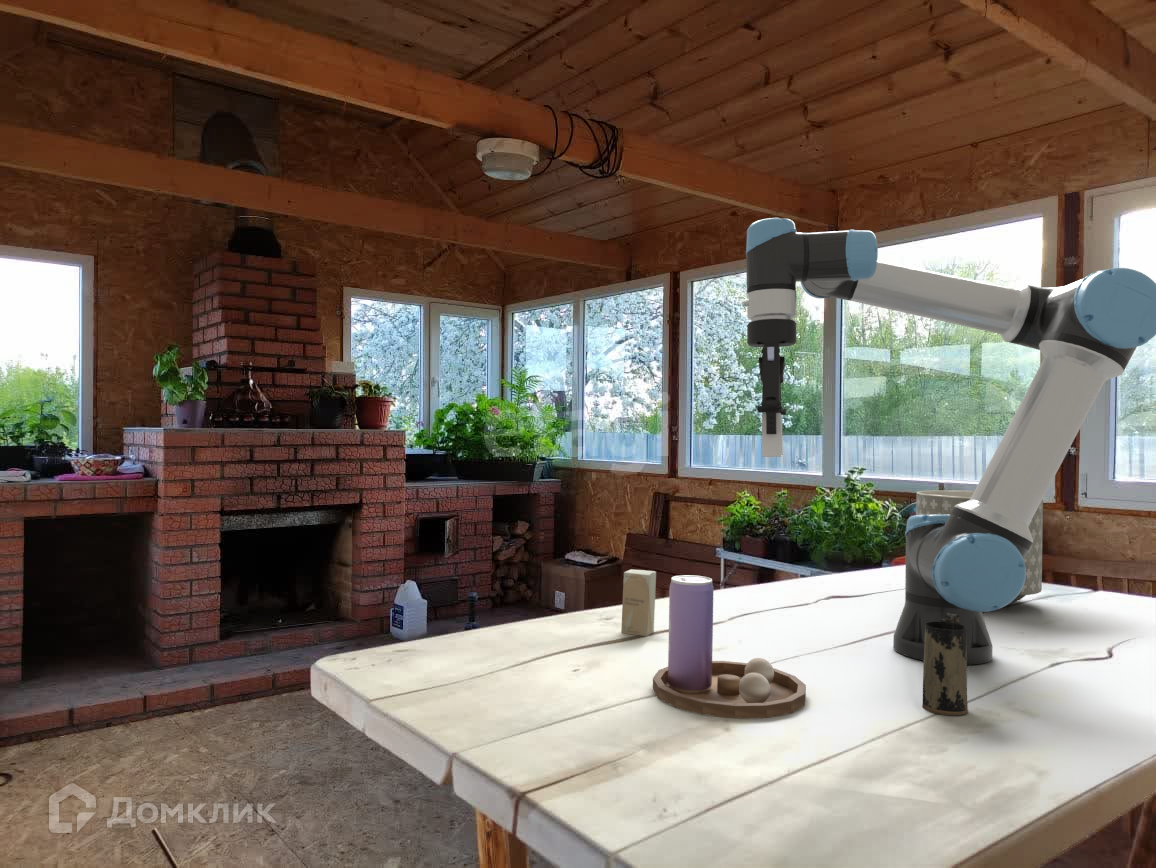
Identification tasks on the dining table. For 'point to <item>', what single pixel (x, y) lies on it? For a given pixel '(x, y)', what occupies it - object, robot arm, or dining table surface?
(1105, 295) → the robot arm
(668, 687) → the tray
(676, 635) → the beverage can
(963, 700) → the mug
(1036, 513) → the planter
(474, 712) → the dining table surface
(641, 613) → the box
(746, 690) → the bead
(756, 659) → the bead
